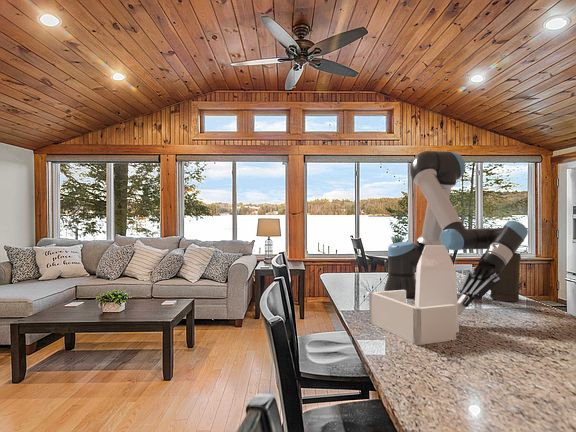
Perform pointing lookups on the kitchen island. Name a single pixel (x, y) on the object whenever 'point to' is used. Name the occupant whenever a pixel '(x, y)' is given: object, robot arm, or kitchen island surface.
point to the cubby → (412, 318)
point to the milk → (436, 279)
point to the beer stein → (508, 281)
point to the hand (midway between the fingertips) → (455, 312)
